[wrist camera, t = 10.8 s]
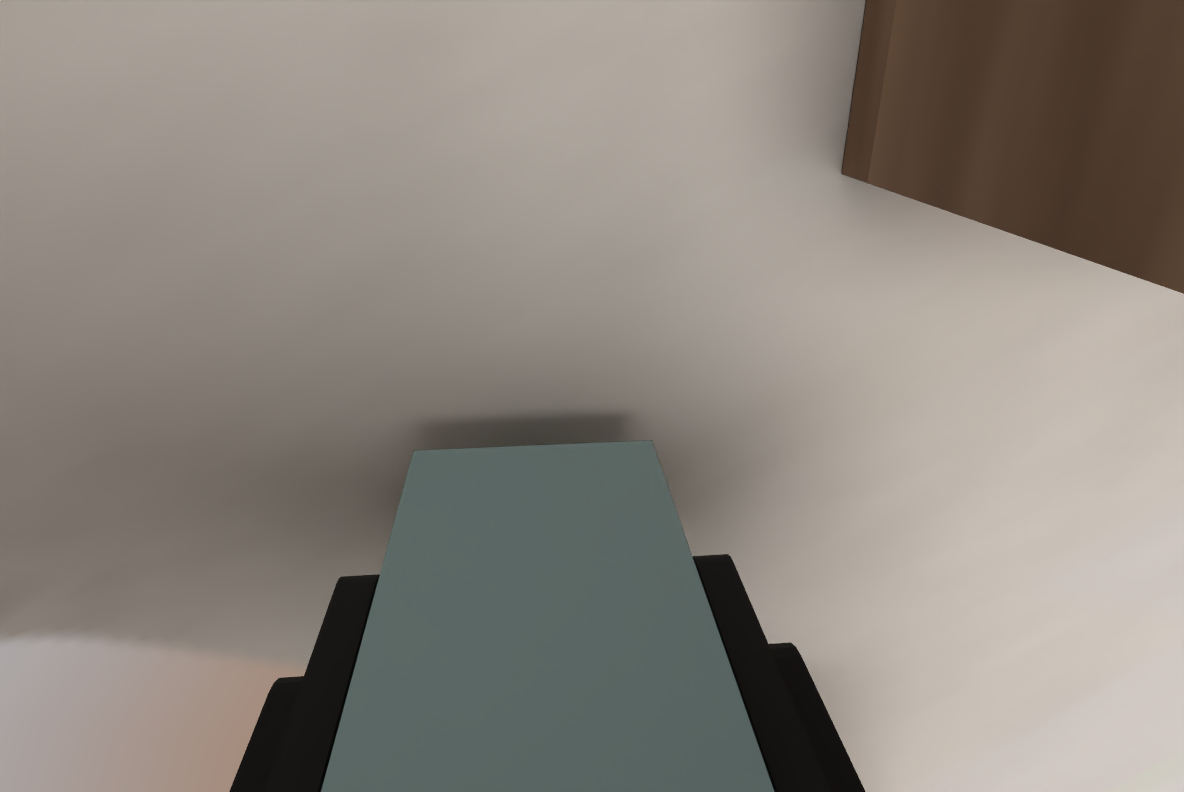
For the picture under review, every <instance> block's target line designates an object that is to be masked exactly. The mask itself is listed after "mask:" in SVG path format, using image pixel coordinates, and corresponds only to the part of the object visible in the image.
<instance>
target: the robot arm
mask: <svg viewBox="0 0 1184 792" xmlns="http://www.w3.org/2000/svg"><path fill="white" fill-rule="evenodd" d="M692 557H693V560H694V563H695V566H696V569H697V571H698V574H699V577H700V580H701V583H702V586H703V589H704V591H705V594H706V597H707V600H708V603H709V606H710V609H711V611H712V614H713V617H714V620H715V623H716V626H717V629H718V632H719V634H720V637H721V640H722V643H723V646H724V649H725V652H726V654H727V657H728V660H729V663H730V666H731V669H732V672H733V675H734V677H735V680H736V683H737V686H738V689H739V692H740V695H741V697H742V700H743V703H744V706H745V709H746V712H747V715H748V717H749V720H750V723H751V726H752V729H753V732H754V735H755V738H756V740H757V743H758V746H759V749H760V752H761V755H762V758H763V760H764V763H765V766H766V769H767V772H768V775H769V778H770V781H771V783H772V786H773V789H774V792H865V790H864V788H863V786H862V784H861V781H860V779H859V777H858V775H857V773H856V771H855V769H854V767H853V765H852V762H851V760H850V758H849V756H848V754H847V752H846V750H845V748H844V746H843V743H842V741H841V739H840V737H839V735H838V733H837V731H836V729H835V727H834V724H833V722H832V720H831V718H830V716H829V714H828V712H827V710H826V707H825V705H824V703H823V701H822V699H821V697H820V695H819V693H818V691H817V688H816V686H815V684H814V682H813V680H812V678H811V676H810V674H809V672H808V669H807V667H806V665H805V663H804V661H803V659H802V657H801V655H800V653H799V652H798V650H797V648H796V647H795V646H794V645H793V644H792V643H779V644H768V642H767V640H766V638H765V635H764V633H763V631H762V628H761V626H760V624H759V621H758V619H757V617H756V614H755V612H754V609H753V607H752V605H751V602H750V600H749V598H748V595H747V593H746V591H745V588H744V586H743V584H742V581H741V579H740V577H739V574H738V572H737V570H736V567H735V565H734V563H733V560H732V559H731V557H730V556H729V555H728V554H724V555H707V556H692ZM379 576H380V575H363V576H345V577H340V578H339V579H338V581H337V584H336V586H335V589H334V592H333V595H332V598H331V601H330V603H329V606H328V609H327V612H326V615H325V618H324V621H323V623H322V626H321V629H320V632H319V635H318V638H317V641H316V643H315V646H314V649H313V652H312V655H311V658H310V661H309V664H308V666H307V669H306V672H305V675H304V676H300V677H286V678H278V679H277V680H276V681H275V682H274V684H273V686H272V687H271V689H270V691H269V693H268V696H267V698H266V701H265V704H264V706H263V708H262V711H261V713H260V716H259V718H258V721H257V724H256V726H255V729H254V731H253V734H252V736H251V739H250V741H249V744H248V746H247V749H246V751H245V754H244V756H243V759H242V761H241V764H240V766H239V769H238V772H237V774H236V777H235V779H234V782H233V785H232V787H231V789H230V792H321V790H322V786H323V783H324V779H325V775H326V772H327V768H328V764H329V760H330V757H331V753H332V749H333V746H334V742H335V738H336V735H337V731H338V727H339V724H340V720H341V716H342V713H343V709H344V705H345V701H346V698H347V694H348V690H349V687H350V683H351V679H352V676H353V672H354V668H355V665H356V661H357V657H358V654H359V650H360V646H361V642H362V639H363V635H364V631H365V628H366V624H367V620H368V617H369V613H370V609H371V606H372V602H373V598H374V595H375V591H376V587H377V584H378V580H379Z"/></svg>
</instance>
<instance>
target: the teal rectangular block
mask: <svg viewBox="0 0 1184 792" xmlns="http://www.w3.org/2000/svg"><path fill="white" fill-rule="evenodd" d="M321 792H774V789H773V786H772V783H771V781H770V778H769V775H768V772H767V769H766V766H765V763H764V760H763V758H762V755H761V752H760V749H759V746H758V743H757V740H756V738H755V735H754V732H753V729H752V726H751V723H750V720H749V717H748V715H747V712H746V709H745V706H744V703H743V700H742V697H741V695H740V692H739V689H738V686H737V683H736V680H735V677H734V675H733V672H732V669H731V666H730V663H729V660H728V657H727V654H726V652H725V649H724V646H723V643H722V640H721V637H720V634H719V632H718V629H717V626H716V623H715V620H714V617H713V614H712V611H711V609H710V606H709V603H708V600H707V597H706V594H705V591H704V589H703V586H702V583H701V580H700V577H699V574H698V571H697V569H696V566H695V563H694V560H693V557H692V554H691V551H690V548H689V546H688V543H687V540H686V537H685V534H684V531H683V528H682V526H681V523H680V520H679V517H678V514H677V511H676V508H675V505H674V503H673V500H672V497H671V494H670V491H669V488H668V485H667V483H666V480H665V477H664V474H663V471H662V468H661V465H660V462H659V460H658V457H657V454H656V451H655V448H654V445H653V442H652V440H647V441H623V442H600V443H577V444H554V445H531V446H508V447H485V448H462V449H439V450H416V451H413V454H412V458H411V462H410V466H409V469H408V473H407V477H406V480H405V484H404V488H403V491H402V495H401V499H400V502H399V506H398V510H397V513H396V517H395V521H394V525H393V528H392V532H391V536H390V539H389V543H388V547H387V550H386V554H385V558H384V561H383V565H382V569H381V572H380V576H379V580H378V584H377V587H376V591H375V595H374V598H373V602H372V606H371V609H370V613H369V617H368V620H367V624H366V628H365V631H364V635H363V639H362V642H361V646H360V650H359V654H358V657H357V661H356V665H355V668H354V672H353V676H352V679H351V683H350V687H349V690H348V694H347V698H346V701H345V705H344V709H343V713H342V716H341V720H340V724H339V727H338V731H337V735H336V738H335V742H334V746H333V749H332V753H331V757H330V760H329V764H328V768H327V772H326V775H325V779H324V783H323V786H322V790H321Z"/></svg>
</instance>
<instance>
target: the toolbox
mask: <svg viewBox="0 0 1184 792" xmlns="http://www.w3.org/2000/svg"><path fill="white" fill-rule="evenodd" d="M842 174H843V175H846V176H849V177H852V178H855V179H857V180H860V181H863V182H866V183H869V184H872V185H875V186H877V187H880V188H883V189H886V190H889V191H892V192H895V193H897V194H900V195H903V196H906V197H909V198H912V199H915V200H918V201H920V202H923V203H926V204H929V205H932V206H935V207H938V208H940V209H943V210H946V211H949V212H952V213H955V214H958V215H960V216H963V217H966V218H969V219H972V220H975V221H978V222H980V223H983V224H986V225H989V226H992V227H995V228H998V229H1000V230H1003V231H1006V232H1009V233H1012V234H1015V235H1018V236H1020V237H1023V238H1026V239H1029V240H1032V241H1035V242H1038V243H1041V244H1043V245H1046V246H1049V247H1052V248H1055V249H1058V250H1061V251H1063V252H1066V253H1069V254H1072V255H1075V256H1078V257H1081V258H1083V259H1086V260H1089V261H1092V262H1095V263H1098V264H1101V265H1103V266H1106V267H1109V268H1112V269H1115V270H1118V271H1121V272H1123V273H1126V274H1129V275H1132V276H1135V277H1138V278H1141V279H1144V280H1146V281H1149V282H1152V283H1155V284H1158V285H1161V286H1164V287H1166V288H1169V289H1172V290H1175V291H1178V292H1181V293H1184V0H867V1H866V8H865V15H864V22H863V29H862V36H861V43H860V50H859V57H858V64H857V71H856V78H855V85H854V92H853V99H852V106H851V113H850V120H849V127H848V134H847V141H846V148H845V154H844V161H843V168H842Z"/></svg>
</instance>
